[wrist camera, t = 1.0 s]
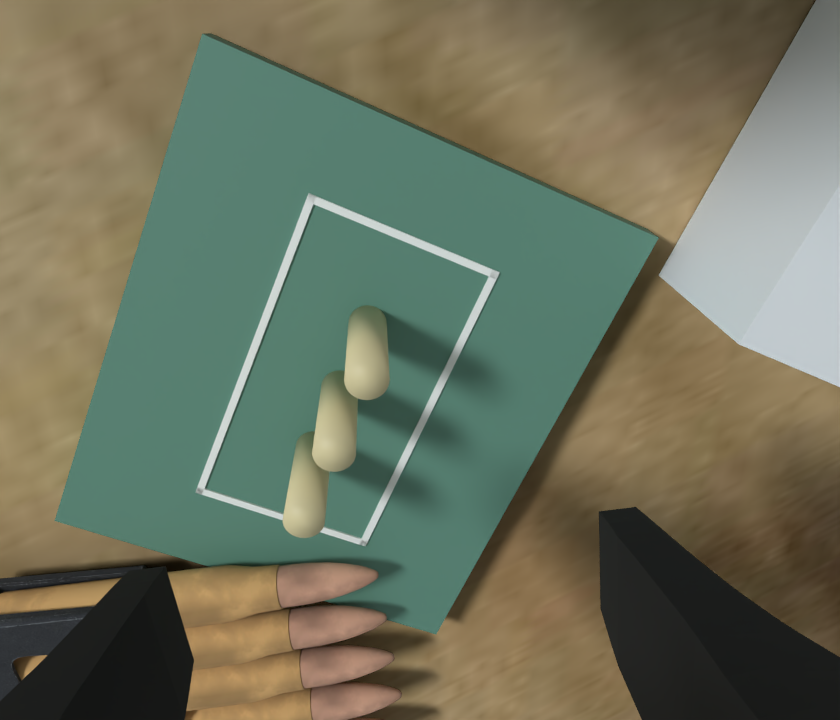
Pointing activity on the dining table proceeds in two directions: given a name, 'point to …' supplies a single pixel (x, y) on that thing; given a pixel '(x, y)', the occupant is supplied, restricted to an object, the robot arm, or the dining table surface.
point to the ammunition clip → (227, 636)
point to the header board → (338, 340)
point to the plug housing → (777, 215)
